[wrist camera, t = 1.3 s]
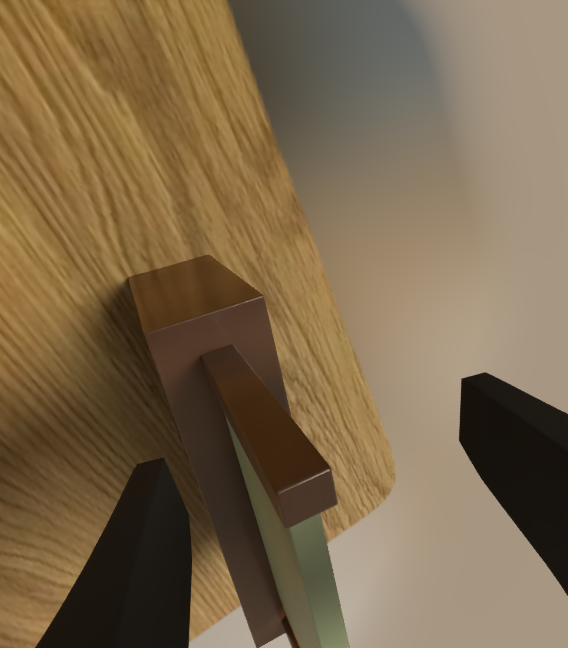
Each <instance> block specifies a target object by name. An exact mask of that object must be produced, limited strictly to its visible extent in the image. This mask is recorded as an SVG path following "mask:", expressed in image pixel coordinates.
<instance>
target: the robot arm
mask: <svg viewBox="0 0 568 648" xmlns="http://www.w3.org/2000/svg"><path fill="white" fill-rule="evenodd" d="M459 441H460V443H461V445H462V447H463V448H464V450H465V452H466V454H467V455H468V457H469V459H470V461H471V462H472V464H473V466H474V467H475V469H476V471H477V472H478V474H479V475H480V477H481V479H482V480H483V481H484V483H485V484H486V485H487V487H488V488H489V490H490V491H491V492H492V494H493V495H494V496H495V497H496V499H497V500H498V502H499V503H500V504H501V506H502V507H503V508H504V510H505V511H506V512H507V514H508V515H509V516H510V517H511V519H512V520H513V521H514V523H515V524H516V525H517V527H518V528H519V529H520V531H521V532H522V533H523V535H524V536H525V537H526V538H527V540H528V541H529V542H530V544H531V545H532V546H533V548H534V549H535V550H536V552H537V553H538V554H539V556H540V557H541V558H542V559H543V561H544V562H545V563H546V564H547V566H548V568H549V569H550V570H551V572H552V573H553V575H554V576H555V577H556V579H557V580H558V582H559V583H560V585H561V586H562V588H563V589H564V591H565V593H566V594H567V596H568V414H567V413H565V412H563V411H561V410H558V409H557V408H555V407H553V406H551V405H549V404H546V403H545V402H543V401H541V400H539V399H537V398H535V397H533V396H531V395H529V394H527V393H525V392H524V391H521V390H520V389H518V388H516V387H514V386H512V385H510V384H508V383H506V382H504V381H502V380H500V379H498V378H496V377H494V376H492V375H490V374H488V373H481V374H478V375H474V376H470V377H466V378H462V381H461V405H460V430H459ZM191 576H192V551H191V536H190V523H189V514H188V512H187V510H186V507H185V505H184V503H183V500H182V498H181V496H180V494H179V491H178V489H177V487H176V485H175V482H174V480H173V478H172V475H171V473H170V471H169V469H168V466H167V464H166V462H165V460H164V457H163V458H160V459H156V460H152V461H148V462H144V463H141V464H137V465H136V467H135V468H134V470H133V472H132V474H131V476H130V478H129V480H128V482H127V484H126V487H125V489H124V491H123V493H122V495H121V497H120V499H119V501H118V503H117V505H116V507H115V509H114V511H113V513H112V515H111V517H110V519H109V521H108V523H107V525H106V527H105V529H104V531H103V533H102V535H101V537H100V538H99V540H98V542H97V544H96V546H95V548H94V550H93V552H92V554H91V555H90V557H89V559H88V561H87V563H86V565H85V566H84V568H83V570H82V572H81V573H80V575H79V577H78V579H77V580H76V582H75V584H74V585H73V587H72V589H71V591H70V592H69V594H68V596H67V597H66V599H65V601H64V603H63V604H62V606H61V608H60V609H59V611H58V613H57V614H56V616H55V618H54V619H53V621H52V622H51V624H50V626H49V627H48V629H47V630H46V632H45V633H44V635H43V637H42V638H41V640H40V641H39V643H38V644H37V646H36V647H35V648H188V646H189V624H190V602H191Z"/></svg>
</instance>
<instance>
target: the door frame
mask: <svg viewBox="0 0 568 648" xmlns="http://www.w3.org/2000/svg"><path fill="white" fill-rule="evenodd" d="M128 281H129V284H130V288H131V291H132V294H133V298H134V301H135V305H136V308H137V312H138V315H139V319H140V322H141V326H142V329H143V332H144V336H145V339H146V341H147V344H148V347H149V350H150V352H151V355H152V358H153V361H154V364H155V366H156V369H157V372H158V375H159V378H160V380H161V383H162V386H163V389H164V392H165V394H166V397H167V400H168V403H169V405H170V408H171V411H172V414H173V417H174V419H175V422H176V425H177V428H178V431H179V433H180V436H181V439H182V442H183V444H184V447H185V450H186V453H187V456H188V458H189V461H190V464H191V467H192V470H193V472H194V475H195V478H196V481H197V484H198V486H199V489H200V492H201V495H202V497H203V500H204V503H205V506H206V509H207V511H208V514H209V517H210V520H211V523H212V525H213V528H214V531H215V534H216V537H217V539H218V542H219V545H220V548H221V550H222V553H223V556H224V559H225V562H226V564H227V567H228V570H229V573H230V576H231V578H232V581H233V584H234V587H235V590H236V592H237V595H238V598H239V601H240V603H241V606H242V609H243V612H244V615H245V617H246V620H247V623H248V626H249V629H250V631H251V634H252V637H253V640H254V643H255V645H256V647H257V648H259V647H261V646H263V645H265V644H266V643H268V642H270V641H272V640H273V639H275V638H277V637H279V636H280V635H282V634H284V633H286V635H287V637H288V639H289V642H290V645H291V647H292V648H300V647H299V645H298V642H297V640H296V637H295V635H294V633H293V630H292V628H291V626H290V623H289V621H288V619H287V616H286V614H285V612H284V609H283V604H282V602H281V599H280V597H279V593H278V590H277V587H276V583H275V580H274V577H273V573H272V570H271V567H270V563H269V560H268V557H267V553H266V550H265V547H264V543H263V540H262V537H261V533H260V530H259V527H258V524H257V520H256V517H255V514H254V510H253V507H252V504H251V500H250V497H249V494H248V490H247V487H246V484H245V480H244V477H243V474H242V470H241V467H240V464H239V460H238V457H237V454H236V450H235V447H234V444H233V440H232V437H231V434H230V430H229V427H228V424H227V421H226V417H227V419H228V421H229V423H230V425H231V427H232V429H233V431H234V432H235V434H236V436H237V438H238V440H239V442H240V444H241V446H242V448H243V450H244V451H245V453H246V455H247V457H248V459H249V461H250V463H251V465H252V467H253V469H254V471H255V472H256V474H257V476H258V478H259V480H260V482H261V484H262V486H263V488H264V490H265V491H266V493H267V495H268V497H269V499H270V501H271V503H272V505H273V507H274V509H275V510H276V512H277V514H278V516H279V518H280V520H281V522H282V524H283V526H284V527H285V528H286V529H289V528H291V527H293V526H295V525H297V524H299V523H301V522H303V521H305V520H307V519H309V518H311V517H313V516H315V515H317V514H319V513H321V512H323V511H325V510H327V509H329V508H332V507H334V506H336V505H337V503H338V501H337V496H336V491H335V486H334V481H333V476H332V470H331V467H330V466H329V465H328V464H327V462H326V461H325V460H324V459H323V457H322V456H321V455H320V453H319V452H318V451H317V450H316V448H315V447H314V446H313V445H312V443H311V442H310V441H309V439H308V438H307V437H306V436H305V434H304V433H303V432H302V431H301V429H300V428H299V427H298V426H297V424H296V423H295V422H294V420H293V419H292V417H291V413H290V409H289V404H288V400H287V395H286V391H285V387H284V382H283V378H282V374H281V369H280V365H279V360H278V356H277V352H276V347H275V343H274V338H273V334H272V330H271V325H270V321H269V316H268V312H267V308H266V303H265V299H264V296H263V295H262V294H261V293H260V292H258V291H257V290H256V289H254V288H253V287H252V286H250V285H249V284H248V283H246V282H245V281H244V280H242V279H241V278H240V277H238V276H237V275H236V274H234V273H233V272H232V271H230V270H229V269H228V268H226V267H225V266H224V265H222V264H221V263H220V262H218V261H217V260H216V259H214V258H213V257H212V256H210V255H206V256H203V257H199V258H196V259H192V260H189V261H185V262H182V263H178V264H175V265H171V266H168V267H164V268H161V269H157V270H154V271H150V272H147V273H143V274H140V275H136V276H133V277H129V278H128ZM224 413H225V414H224ZM225 415H226V417H225Z"/></svg>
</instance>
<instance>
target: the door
mask: <svg viewBox="0 0 568 648" xmlns="http://www.w3.org/2000/svg"><path fill="white" fill-rule="evenodd" d="M224 414H225V413H224ZM225 417H226V415H225ZM226 421H227V424H228V427H229V430H230V434H231V437H232V440H233V444H234V447H235V450H236V454H237V457H238V460H239V464H240V467H241V470H242V474H243V477H244V480H245V484H246V487H247V490H248V494H249V497H250V500H251V504H252V507H253V510H254V514H255V517H256V520H257V524H258V527H259V530H260V533H261V537H262V540H263V543H264V547H265V550H266V553H267V557H268V560H269V563H270V567H271V570H272V573H273V577H274V580H275V583H276V587H277V590H278V593H279V597H280V599H281V602H282V604H283V609H284V612H285V614H286V616H287V619H288V621H289V623H290V626H291V628H292V630H293V633H294V635H295V637H296V640H297V642H298V645H299V647H300V648H350V646H349V642H348V638H347V633H346V628H345V624H344V619H343V615H342V611H341V605H340V601H339V596H338V592H337V587H336V583H335V578H334V573H333V569H332V564H331V560H330V555H329V551H328V546H327V541H326V537H325V532H324V528H323V523H322V519H321V514H320V513H319V514H317V515H315V516H313V517H311V518H309V519H307V520H305V521H303V522H301V523H299V524H297V525H295V526H293V527H291V528H289V529H286V528H285V527H284V526H283V524H282V522H281V520H280V518H279V516H278V514H277V512H276V510H275V509H274V507H273V505H272V503H271V501H270V499H269V497H268V495H267V493H266V491H265V490H264V488H263V486H262V484H261V482H260V480H259V478H258V476H257V474H256V472H255V471H254V469H253V467H252V465H251V463H250V461H249V459H248V457H247V455H246V453H245V451H244V450H243V448H242V446H241V444H240V442H239V440H238V438H237V436H236V434H235V432H234V431H233V429H232V427H231V425H230V423H229V421H228V419H227V417H226Z"/></svg>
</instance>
